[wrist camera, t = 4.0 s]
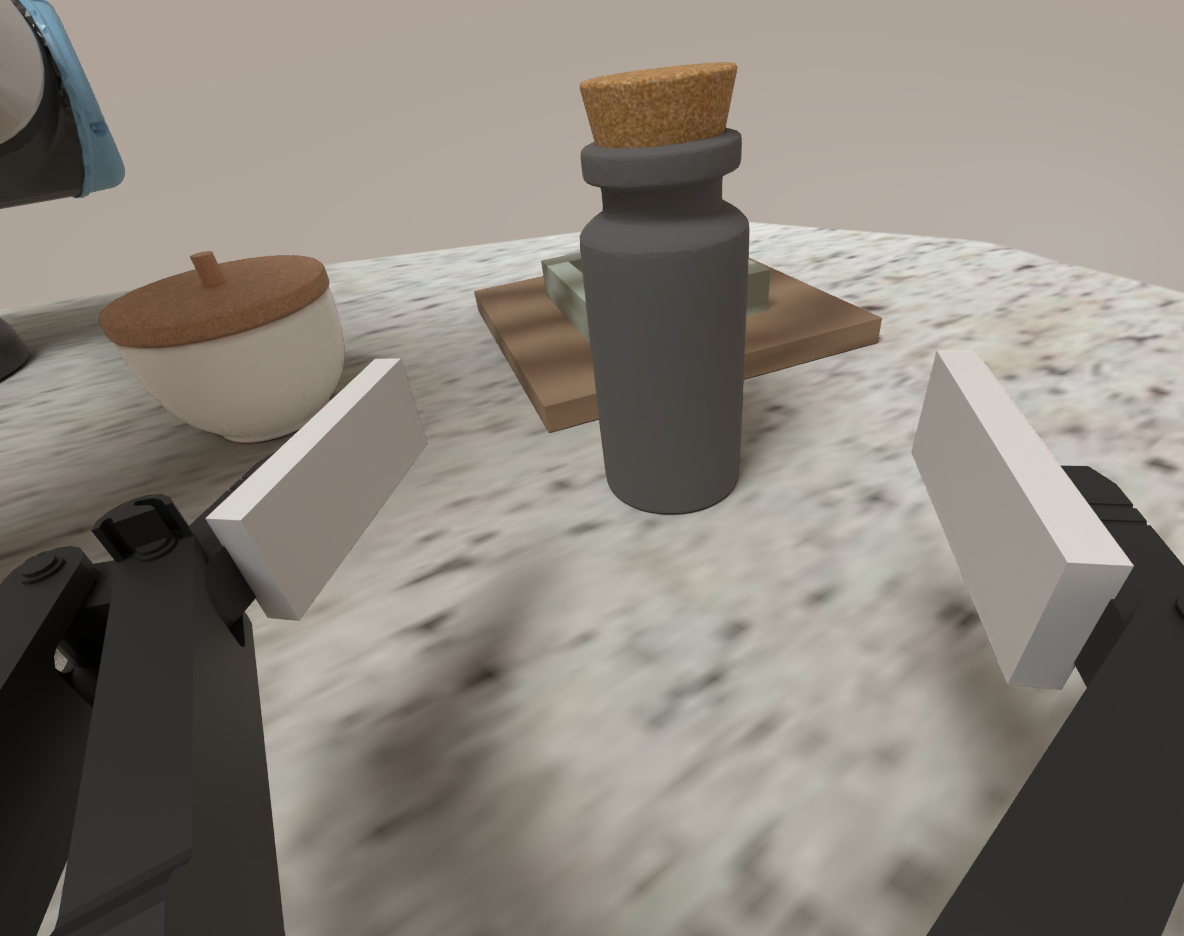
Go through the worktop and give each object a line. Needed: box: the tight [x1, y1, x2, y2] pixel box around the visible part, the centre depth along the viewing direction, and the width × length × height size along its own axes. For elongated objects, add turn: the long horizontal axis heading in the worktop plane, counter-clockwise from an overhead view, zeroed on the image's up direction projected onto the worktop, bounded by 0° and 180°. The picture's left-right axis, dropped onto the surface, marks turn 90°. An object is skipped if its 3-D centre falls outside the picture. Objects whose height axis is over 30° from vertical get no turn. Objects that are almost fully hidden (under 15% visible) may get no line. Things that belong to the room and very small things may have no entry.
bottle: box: [580, 62, 749, 513], centre depth 22 cm, size 6×6×15 cm
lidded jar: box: [99, 251, 344, 443], centre depth 33 cm, size 11×11×9 cm
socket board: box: [474, 252, 882, 432], centre depth 39 cm, size 20×20×4 cm
